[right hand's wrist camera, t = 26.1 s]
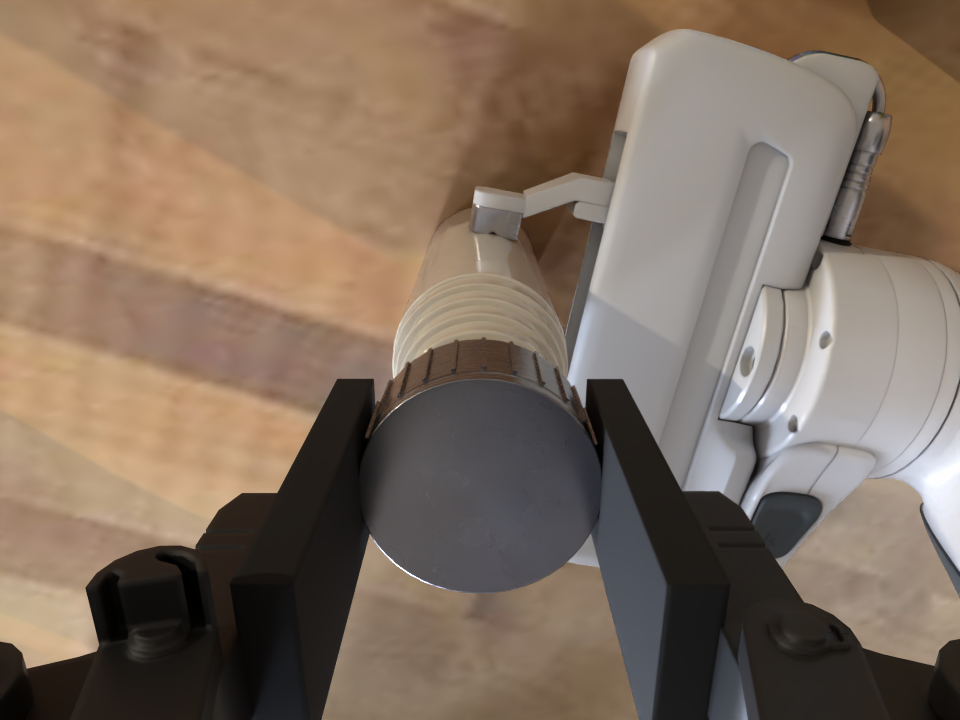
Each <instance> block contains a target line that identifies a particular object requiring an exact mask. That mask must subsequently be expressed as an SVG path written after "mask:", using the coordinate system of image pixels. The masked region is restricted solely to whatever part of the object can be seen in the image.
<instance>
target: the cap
mask: <svg viewBox="0 0 960 720" xmlns="http://www.w3.org/2000/svg"><path fill="white" fill-rule="evenodd" d="M364 441H367V442H366V445H365V448H364V451H363V454H362V457H361V460H360V463H359V469H358V478H359V493H360V507H361V515H362V518H363V520H364V523H365V525H366V527H367V529H368V531H369V533H370V535H371V536H372V538H373V539H374V541H375V543H376V544H377V545H378V547H379V548H380V549H381V550H382V551H383V553H384V554H385V555H386V556H387V557H388V558H389V559H390V560H392V561H393V562H394V563H395V564H396V565H397V566H399V567H400V568H401V569H403V570H404V571H406V572H407V573H408V574H410V575H412V576H414V577H416V578H418V579H419V580H421V581H424V582H426V583H429V584H431V585H433V586H436V587H440V588H443V589H447V590H451V591H457V592H463V593H477V594H482V593H497V592H503V591H509V590H513V589H517V588H521V587H524V586H527V585H529V584H532V583H534V582H537V581H539V580H541V579H543V578H545V577H547V576H548V575H550V574H552V573H553V572H555V571H556V570H558V569H559V568H560V567H562V566H563V565H564V564H565V563H567V562H568V561H569V560H570V559H571V558H572V557H573V556H574V555H575V554H576V553H577V552H578V550H579V549H580V548H581V547H582V546H583V544H584V543H585V541H586V540H587V538H588V537H589V535H590V534H591V532H592V530H593V528H594V526H595V523H596V521H597V519H598V515H599V512H600V500H601V486H602V466H601V462H600V459H599V455H598V452H597V449H596V448H597V447H599V445H598V442H597V439H596V436H595V433H594V430H593V428H592V425H591V422H590V419H589V416H588V413H587V411H586V408H585V407H584V408H583V406H582V403H581V400H580V398H579V395H578V392H577V389H576V387H575V385H573V386H571V384H570V383H569V381H568V380H567V379H566V378H565V377H564V376H563V374H562V373H561V370H560V368H559V367H558V366H556V367H554V366H553V365H552V364H551V363H550V362H549V361H547V360H546V359H544V358H543V357H541V356H539V352H537V351H535V352H532V351H530V350H528V349H526V348H524V347H521V346H518V345H515V344H514V343H513V342H512V341H509V343H508V342H504V341H498V340H486V337H482V339H474V340H462V341H458V339H457V340H454V342H452V343H449V344H446V345H443V346H439V347H437V348H435V349H432V348H429V349H428V352H426V353H424V354H423V355H421V356H419V357H418V358H416V359H415V360H413V361H412V362H411V363H410V362H409V361H408V362H407V363H406V364H405V367H404V368H403V369H402V370H401V371H400V373H399V374H398V375H397V376H396V377H395V378H394V379H393V381H392V380H389V381H388V383H387V386H386V389H385V392H384V395H383V397H382V399H381V401H380V402H378V401H377V403H376V406H375V409H374V411H373V414H372V417H371V420H370V423H369V426H368V429H367V431H366V434H365V437H364Z"/></svg>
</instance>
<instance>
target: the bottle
mask: <svg viewBox="0 0 960 720" xmlns="http://www.w3.org/2000/svg"><path fill="white" fill-rule="evenodd" d="M471 210H472V208H469V209H465V210H462V211H460V212H457V213H455V214H453V215H452V216H450V217H449V218H447V219H446V220H445V221H444V222H443V223H442V224H441V225H440V226H439V227H438V229H437V230H436V231H435V233H434V235H433V237H432V239H431V241H430V244H429V247H428V249H427V252H426V255H425V257H424V260H423V263H422V265H421V268H420V271H419V273H418V276H417V279H416V281H415V284H414V287H413V289H412V292H411V295H410V297H409V300H408V303H407V305H406V308H405V311H404V313H403V316H402V319H401V321H400V324H399V327H398V330H397V332H396V336H395V341H394V350H393V363H392V367H393V378H395V377H396V376H397V375H398V374H399V373H400V371H401V370H402V369H403V368H404V367H405V364H406V363H407V362H408V361H409V362H410V363H411V362H412V361H413V360H415V359H416V358H418V357H419V356H421V355H423V354H424V353H426V352H428V349H429V348H432V349H435V348H437V347H439V346H443V345H446V344H449V343H452V342H454V340H457V339H458V341H462V340H474V339H482V337H486V340H498V341H504V342H508V343H509V341H512V342H513V343H514V344H515V345H518V346H521V347H524V348H526V349H528V350H530V351H532V352H535V351H537V352H539V356H541V357H543V358H544V359H546V360H547V361H549V362H550V363H551V364H552V365H553V366H554V367H556V366H558V367H559V368H560V370H561V373H562V374H563V376H564V377H565V378H566V379H567V373H568V358H567V346H566V339H565V335H564V331H563V328H562V326H561V323H560V320H559V318H558V315H557V312H556V310H555V307H554V304H553V302H552V299H551V296H550V294H549V291H548V288H547V286H546V283H545V280H544V278H543V275H542V272H541V270H540V267H539V264H538V262H537V259H536V256H535V254H534V251H533V248H532V245H531V243H530V240H529V238H528V236H527V234H526V233H525V231H524V230H523V228H522V227H521V226H520V229H519V233H518V237H517V240H512V239H507V238H503V237H500V236H497V235H496V234H495V233H494V232H491V233H489V234H480V233H476V232H472V231H470V230H469V222H470V216H471Z"/></svg>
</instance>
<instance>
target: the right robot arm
mask: <svg viewBox="0 0 960 720" xmlns="http://www.w3.org/2000/svg"><path fill="white" fill-rule="evenodd" d="M585 408H586V411H587V413H588V416H589V419H590V422H591V425H592V428H593V430H594V433H595V436H596V439H597V442H598V445H599V447H597V448H596V449H597V452H598V455H599V459H600V462H601V466H602V486H601V500H600V512H599V515H598V519H597V521H596V523H595V526H594V528H593V530H592V532H591V536H592V540H593V544H594V547H595V551H596V555H597V559H598V563H599V567H600V570H601V574H602V578H603V582H604V586H605V590H606V594H607V597H608V601H609V605H610V609H611V613H612V617H613V621H614V624H615V628H616V632H617V636H618V640H619V644H620V648H621V651H622V655H623V659H624V663H625V667H626V671H627V675H628V678H629V682H630V686H631V690H632V694H633V698H634V702H635V705H636V709H637V713H638V717H639V720H960V639H958V640H952V641H949V642H948V643H947V644H946V645H945V646H944V647H942V648H941V649H940V650H939V654H938V657H937V661H936V664H935V666H932V665H927V664H923V663H919V662H914V661H910V660H906V659H901V658H897V657H892V656H888V655H884V654H880V653H877V652H874V651H870V650H867V649H864V648H862V646H861V644H860V642H859V641H858V639H857V638H856V636H855V635H854V633H853V632H852V630H851V629H850V628H849V627H848V626H846V625H845V624H844V623H843V622H841V621H840V620H839V619H838V618H836V617H835V616H834V615H832V614H830V613H828V612H826V611H824V610H822V609H820V608H818V607H816V606H814V605H811V604H807V603H804V602H803V600H802V599H801V597H800V596H799V594H798V593H797V591H796V590H795V588H794V587H793V585H792V584H791V582H790V580H789V579H788V577H787V576H786V574H785V573H784V571H783V570H782V568H781V567H780V565H779V564H778V562H777V561H776V559H775V558H774V556H773V554H772V553H771V551H770V550H769V548H766V547H765V542H764V541H763V539H762V538H761V536H760V535H759V533H758V532H757V531H755V527H754V525H753V524H752V522H751V521H750V519H749V518H748V516H747V515H746V513H745V512H744V510H743V509H742V507H740V506H739V505H737V504H736V503H735V502H733V501H732V500H730V499H729V498H728V497H726V496H725V495H724V494H722V493H721V492H719V491H682V490H681V488H680V486H679V484H678V482H677V481H676V479H675V477H674V475H673V473H672V471H671V469H670V467H669V465H668V463H667V462H666V460H665V458H664V456H663V454H662V452H661V450H660V448H659V446H658V444H657V443H656V441H655V439H654V437H653V435H652V433H651V431H650V429H649V427H648V425H647V424H646V422H645V420H644V418H643V416H642V414H641V412H640V410H639V408H638V406H637V405H636V403H635V401H634V399H633V397H632V395H631V393H630V391H629V389H628V387H627V386H626V384H625V382H624V380H623V379H587V385H586V402H585ZM374 409H375V394H374V379H337V381H336V383H335V385H334V387H333V388H332V390H331V392H330V394H329V396H328V398H327V400H326V402H325V404H324V406H323V407H322V409H321V411H320V413H319V415H318V417H317V419H316V421H315V423H314V425H313V426H312V428H311V430H310V432H309V434H308V436H307V438H306V440H305V442H304V444H303V445H302V447H301V449H300V451H299V453H298V455H297V457H296V459H295V461H294V463H293V464H292V466H291V468H290V470H289V472H288V474H287V476H286V478H285V480H284V482H283V483H282V485H281V487H280V489H279V491H278V493H242V494H240V495H239V496H237V497H236V498H235V499H233V500H232V501H231V502H229V503H228V504H226V505H225V506H224V507H222V508H221V509H220V510H219V511H218V512H217V514H216V515H215V517H214V518H213V520H212V521H211V523H210V524H209V526H208V528H207V529H206V533H204V534H203V535H202V537H201V538H200V540H199V541H198V543H197V544H196V549H191V548H187V547H184V546H157V547H153V548H148V549H144V550H139V551H136V552H133V553H131V554H129V555H126V556H124V557H122V558H119V559H117V560H115V561H113V562H112V563H111V564H109V565H108V566H106V567H105V568H103V569H102V570H101V571H99V572H98V573H97V574H96V575H95V576H94V577H93V579H92V580H91V581H90V582H89V584H88V585H87V586H86V592H87V596H88V600H89V604H90V608H91V612H92V617H93V621H94V625H95V629H96V633H97V637H98V641H99V647H98V650H97V652H93V653H90V654H87V655H83V656H80V657H76V658H72V659H68V660H63V661H59V662H54V663H50V664H46V665H41V666H37V667H33V668H28V669H26V665H25V662H24V658H23V655H22V653H21V652H20V651H19V650H18V649H17V648H16V647H15V646H14V645H13V644H10V643H5V642H0V720H321V719H322V715H323V711H324V707H325V703H326V700H327V696H328V692H329V688H330V684H331V680H332V676H333V673H334V669H335V665H336V661H337V657H338V653H339V649H340V646H341V642H342V638H343V634H344V630H345V626H346V622H347V619H348V615H349V611H350V607H351V603H352V599H353V595H354V592H355V588H356V584H357V580H358V576H359V572H360V568H361V565H362V561H363V557H364V553H365V549H366V545H367V541H368V538H369V534H370V533H369V531H368V529H367V527H366V525H365V523H364V520H363V518H362V515H361V507H360V493H359V478H358V469H359V463H360V460H361V457H362V454H363V451H364V448H365V445H366V442H367V441H364V437H365V434H366V431H367V429H368V426H369V423H370V420H371V417H372V414H373V411H374Z"/></svg>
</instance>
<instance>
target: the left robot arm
mask: <svg viewBox="0 0 960 720" xmlns="http://www.w3.org/2000/svg"><path fill="white" fill-rule="evenodd" d="M871 99H872V101H873V103H872V111H867V110H868V107H869V105H870V102H871ZM885 108H886V92H885V87H884V84H883V81H882V79H881V77H880V75H879V74H878V72H877V70H876V69H875V68H874V67H872V66H871V65H869V64H868V63H867V62H865V61H863V60H860V59H858V58H853V57H849V56H844V55H839V54H834V53H830V52H825V51H807V52H802V53H799V54H796V55H794V56H792V57H790V58H788V59H787V60H786V59H784V58H781V57H779V56H776V55H774V54H771V53H769V52H766V51H763V50H760V49H758V48H755V47H752V46H749V45H746V44H743V43H740V42H737V41H734V40H731V39H727V38H724V37H720V36H716V35H713V34H709V33H705V32H701V31H696V30H691V29H676V30H671V31H668V32H666V33H663V34H661V35H659V36H658V37H656V38H654V39H653V40H651V41H650V42H648V43H647V44H645V45H644V46H643V47H641V48H640V49H638V50H637V51H636V52H635V53H634V54H633V56H632V58H631V61H630V64H629V68H628V72H627V76H626V81H625V85H624V89H623V93H622V97H621V101H620V106H619V110H618V114H617V118H616V122H615V127H614V131H613V135H612V139H611V143H610V147H609V152H608V156H607V160H606V164H605V168H604V173H603V177H602V178H601V177H595V176H590V175H584V174H579V173H574V172H573V173H570V174H567V175H564V176H562V177H559V178H556V179H554V180H551V181H548V182H545V183H543V184H540V185H537V186H535V187H532V188H529V189H526V190H524V191H523V194H521V193H516V192H511V191H505V190H500V189H495V188H489V187H481V186H476V187H475V193H474V199H473V204H472V210H471V216H470V222H469V230H470V231H472V232H476V233H480V234H489V233H491V232H494V233H495V234H496V235H497V236H500V237H503V238H507V239H512V240H517V237H518V233H519V229H520V224H521V220H522V217H523V218H526V217H529V216H532V215H535V214H537V213H540V212H543V211H546V210H549V209H552V208H555V207H558V206H561V205H564V204H567V205H566V206H567V208H568V210H569V211H570V212H571V213H572V214H573V215H574V217H575V218H578V219H583V220H588V221H592V223H591V227H590V231H589V235H588V240H587V244H586V248H585V252H584V256H583V261H582V265H581V269H580V273H579V277H578V281H577V286H576V290H575V294H574V298H573V302H572V307H571V311H570V315H569V319H568V323H567V328H566V332H565V339H566V346H567V358H568V373H567V380H568V381H569V383H570V384H571V386H573V385H575V387H576V389H577V392H578V395H579V398H580V400H581V403H582V406H583V408H584V407H585V402H586V385H587V379H623V380H624V382H625V384H626V386H627V387H628V389H629V391H630V393H631V395H632V397H633V399H634V401H635V403H636V405H637V406H638V408H639V410H640V412H641V414H642V416H643V418H644V420H645V422H646V424H647V425H648V427H649V429H650V431H651V433H652V435H653V437H654V439H655V441H656V443H657V444H658V446H659V448H660V450H661V452H662V454H663V456H664V458H665V460H666V462H667V463H668V465H669V467H670V469H671V471H672V473H673V475H674V477H675V479H676V481H677V482H678V484H679V486H680V488H681V490H682V491H719V492H721V493H722V494H724V495H725V496H726V497H728V498H729V499H730V500H732V501H733V502H735V503H736V504H737V505H739V506H740V507H742V509H743V510H744V512H745V513H746V515H747V516H748V518H749V519H750V521H751V522H752V524H753V525H754V527H755V531H757V532H758V533H759V535H760V536H761V538H762V539H763V541H764V542H765V547H766V548H769V550H770V551H771V553H772V554H773V556H774V558H775V559H776V561H777V562H778V564H779V565H780V567H781V568H782V567H783V566H784V564H785V563H786V562H787V561H788V560H789V559H790V557H791V556H792V555H793V554H794V553H795V551H796V550H797V549H798V548H799V547H800V545H801V544H802V543H803V542H804V541H805V539H806V538H807V537H808V536H809V535H810V534H811V533H812V531H813V530H814V529H815V528H816V527H817V526H818V525H819V524H820V522H821V521H822V520H823V519H824V518H825V517H826V516H827V515H828V514H829V513H830V512H831V511H832V510H833V509H834V508H835V507H836V506H837V505H838V504H839V503H840V502H841V501H842V500H843V499H844V498H845V497H847V496H848V495H849V494H850V493H851V492H852V491H853V490H854V489H856V488H857V487H858V486H859V485H860V484H861V483H862V482H863V481H864V480H865V479H866V478H868V479H878V478H882V479H896V480H900V481H903V482H905V483H907V484H908V485H910V486H911V487H913V488H914V489H915V490H916V491H917V492H918V493H919V494H920V495H921V497H922V499H923V503H922V504H921V506H920V512H921V516H922V519H923V522H924V525H925V527H926V530H927V532H928V534H929V537H930V539H931V541H932V543H933V545H934V547H935V549H936V552H937V554H938V556H939V558H940V560H941V562H942V563H943V565H944V567H945V569H946V571H947V573H948V575H949V577H950V579H951V581H952V583H953V585H954V587H955V589H956V591H957V593H958V595H959V597H960V274H959V273H957V272H955V271H954V270H952V269H950V268H948V267H947V266H945V265H943V264H941V263H938V262H935V261H933V260H930V259H926V258H923V257H918V256H912V255H907V254H902V253H897V252H891V251H886V250H881V249H876V248H870V247H865V246H860V245H856V244H852V243H850V240H851V237H852V234H853V232H854V229H855V226H856V223H857V221H858V218H859V215H860V213H861V210H862V207H863V205H864V201H865V198H866V195H867V193H866V191H868V186H869V185H868V183H869V182H870V178H871V177H870V175H871V174H872V171H873V167H874V166H875V163H876V161H877V158H878V156H879V155H881V154H882V152H883V150H884V148H885V145H886V143H887V140H888V137H889V134H890V130H891V125H892V116H891V115H889V114H885ZM568 562H569V563H574V564H580V565H587V566H593V567H599V563H598V559H597V555H596V551H595V547H594V544H593V540H592V536H591V534H590V535H589V537H588V538H587V540H586V541H585V543H584V544H583V546H582V547H581V548H580V549H579V550H578V552H577V553H576V554H575V555H574V556H573V557H572V558H571V559H570V560H569V561H568Z"/></svg>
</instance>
